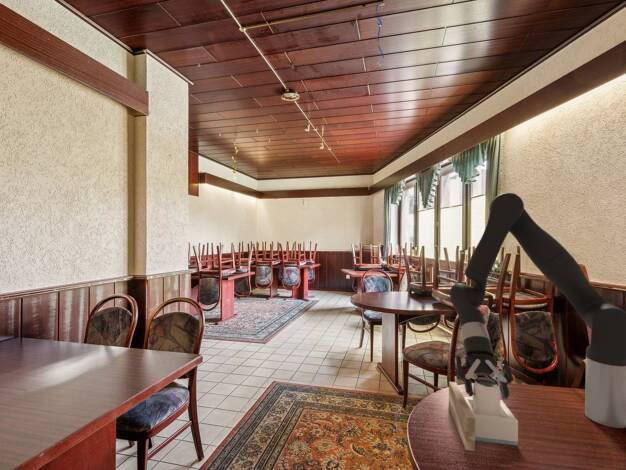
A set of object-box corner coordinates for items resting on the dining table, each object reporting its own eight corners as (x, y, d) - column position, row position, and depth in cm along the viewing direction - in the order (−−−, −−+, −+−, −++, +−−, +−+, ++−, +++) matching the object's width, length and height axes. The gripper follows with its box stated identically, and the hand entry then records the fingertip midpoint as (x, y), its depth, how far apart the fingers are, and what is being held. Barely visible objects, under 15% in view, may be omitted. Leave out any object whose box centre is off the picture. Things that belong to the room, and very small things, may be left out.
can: (504, 433, 86) (505, 387, 86) (479, 432, 87) (480, 386, 86) (492, 419, 93) (493, 377, 93) (468, 418, 93) (469, 376, 93)
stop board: (455, 408, 100) (455, 382, 100) (474, 451, 81) (475, 418, 81) (448, 407, 101) (448, 381, 101) (465, 449, 81) (466, 417, 81)
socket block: (501, 421, 94) (501, 400, 94) (517, 445, 83) (518, 421, 83) (460, 416, 96) (460, 396, 96) (470, 439, 85) (471, 416, 85)
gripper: (453, 333, 99) (462, 389, 87) (505, 336, 96) (521, 394, 85) (449, 345, 104) (457, 399, 93) (498, 348, 101) (513, 404, 90)
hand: (488, 397), depth 89 cm, fingers open, 8 cm apart
